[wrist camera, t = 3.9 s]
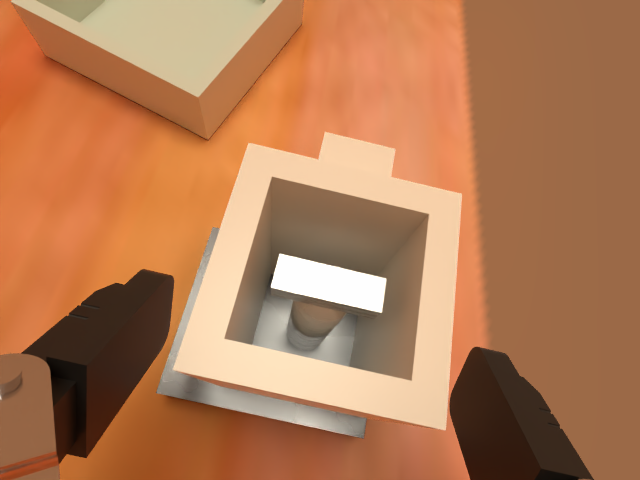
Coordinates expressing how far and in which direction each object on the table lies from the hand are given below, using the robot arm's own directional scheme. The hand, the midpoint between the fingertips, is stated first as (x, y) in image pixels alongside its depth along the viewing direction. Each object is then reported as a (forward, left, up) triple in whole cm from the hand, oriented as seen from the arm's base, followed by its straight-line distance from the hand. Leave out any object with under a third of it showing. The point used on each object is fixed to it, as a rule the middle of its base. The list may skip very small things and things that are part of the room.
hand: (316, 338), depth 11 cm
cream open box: (0, +1, -6) cm, 6 cm away
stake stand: (-1, +1, -7) cm, 8 cm away
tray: (-15, +13, -7) cm, 21 cm away
